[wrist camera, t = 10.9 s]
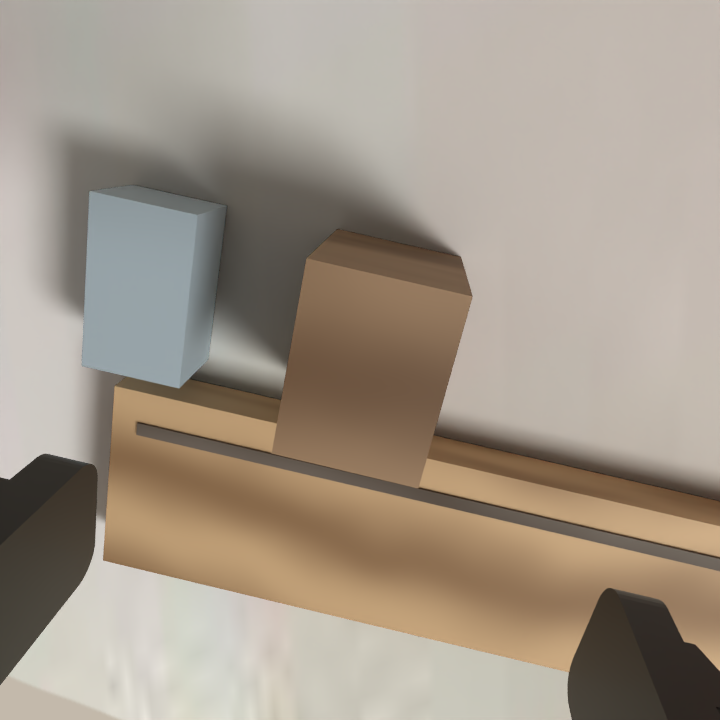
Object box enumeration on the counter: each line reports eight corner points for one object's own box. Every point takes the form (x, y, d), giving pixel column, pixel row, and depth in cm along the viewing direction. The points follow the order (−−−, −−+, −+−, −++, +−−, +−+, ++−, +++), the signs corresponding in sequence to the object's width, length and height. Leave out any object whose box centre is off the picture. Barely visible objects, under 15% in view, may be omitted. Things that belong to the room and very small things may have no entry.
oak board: (138, 367, 24) (113, 387, 22) (786, 516, 24) (819, 550, 22) (125, 531, 27) (101, 561, 25) (705, 669, 26) (727, 712, 24)
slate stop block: (132, 184, 22) (89, 190, 19) (227, 205, 22) (197, 214, 19) (121, 339, 24) (81, 366, 21) (208, 359, 24) (179, 388, 21)
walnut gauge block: (337, 228, 22) (306, 258, 16) (461, 256, 22) (472, 296, 16) (308, 380, 24) (271, 453, 18) (420, 406, 24) (418, 488, 18)
